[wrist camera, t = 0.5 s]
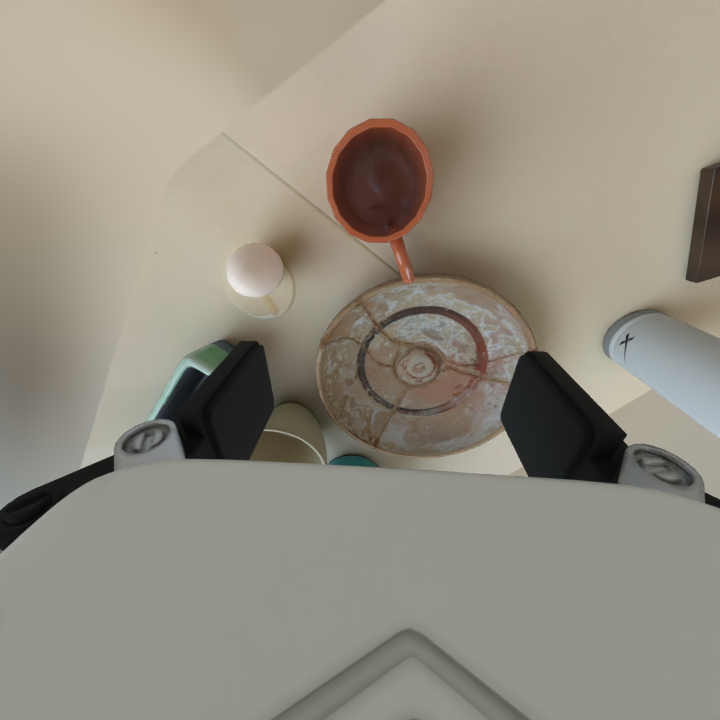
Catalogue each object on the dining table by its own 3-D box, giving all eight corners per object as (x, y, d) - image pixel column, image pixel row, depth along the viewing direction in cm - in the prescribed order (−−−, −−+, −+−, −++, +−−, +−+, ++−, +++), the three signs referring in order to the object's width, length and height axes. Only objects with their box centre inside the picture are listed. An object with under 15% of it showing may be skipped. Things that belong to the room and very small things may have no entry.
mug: (329, 162, 26) (308, 151, 18) (403, 125, 24) (414, 94, 16) (372, 276, 31) (370, 305, 23) (436, 251, 29) (457, 273, 21)
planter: (188, 467, 48) (160, 509, 42) (145, 447, 46) (109, 487, 40) (270, 359, 36) (248, 393, 30) (218, 324, 34) (182, 354, 28)
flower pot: (353, 418, 41) (347, 469, 33) (302, 459, 46) (287, 512, 38) (283, 368, 37) (259, 412, 30) (236, 418, 42) (205, 467, 34)
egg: (240, 269, 31) (204, 290, 25) (255, 228, 29) (220, 240, 22) (280, 292, 32) (256, 318, 26) (298, 254, 30) (276, 272, 23)
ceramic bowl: (438, 210, 27) (450, 213, 23) (555, 369, 35) (580, 395, 31) (283, 354, 36) (270, 376, 32) (404, 455, 44) (407, 484, 40)
